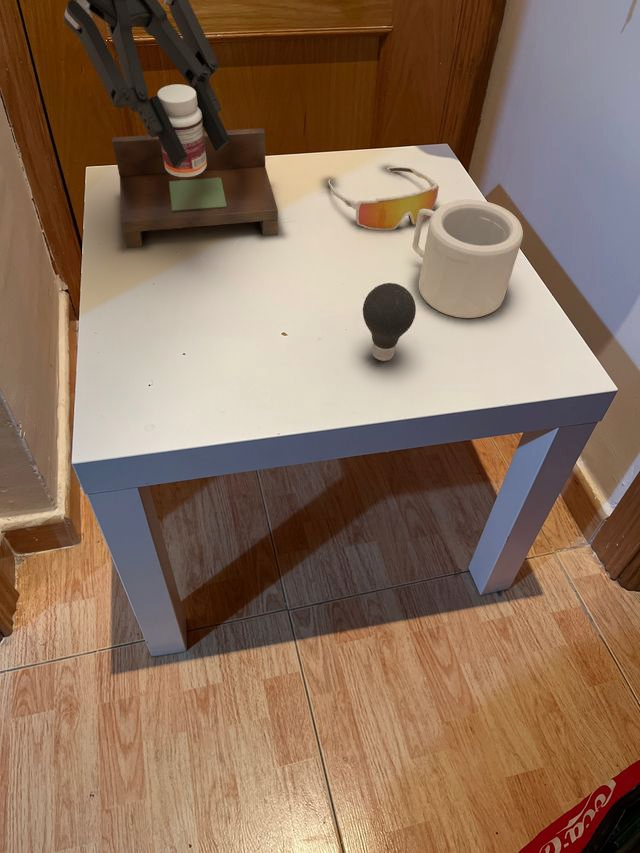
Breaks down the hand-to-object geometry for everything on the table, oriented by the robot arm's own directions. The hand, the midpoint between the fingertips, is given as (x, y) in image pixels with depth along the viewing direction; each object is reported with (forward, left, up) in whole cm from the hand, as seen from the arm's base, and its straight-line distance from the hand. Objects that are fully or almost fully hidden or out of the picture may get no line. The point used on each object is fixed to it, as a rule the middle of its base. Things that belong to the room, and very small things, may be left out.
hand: (202, 153), depth 74 cm
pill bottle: (-2, +3, -3) cm, 5 cm away
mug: (+29, -6, -17) cm, 34 cm away
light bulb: (+17, -17, -17) cm, 30 cm away
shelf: (-1, +14, -17) cm, 21 cm away
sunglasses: (+25, +14, -17) cm, 33 cm away
